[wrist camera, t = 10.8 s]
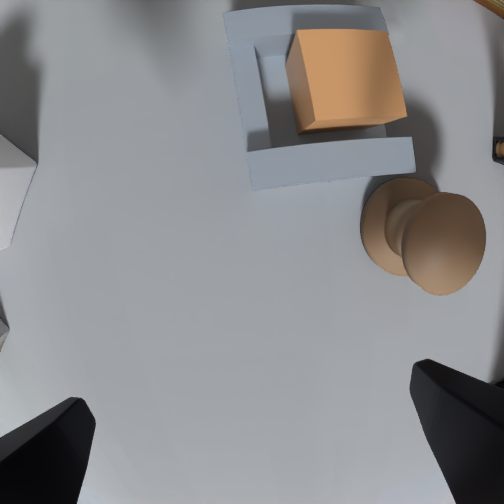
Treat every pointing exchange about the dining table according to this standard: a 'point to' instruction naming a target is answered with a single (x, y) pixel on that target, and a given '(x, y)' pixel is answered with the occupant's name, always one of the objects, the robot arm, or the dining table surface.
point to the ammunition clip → (498, 150)
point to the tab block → (343, 80)
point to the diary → (493, 6)
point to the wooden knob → (423, 234)
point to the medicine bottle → (12, 187)
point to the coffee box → (3, 333)
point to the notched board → (280, 105)
